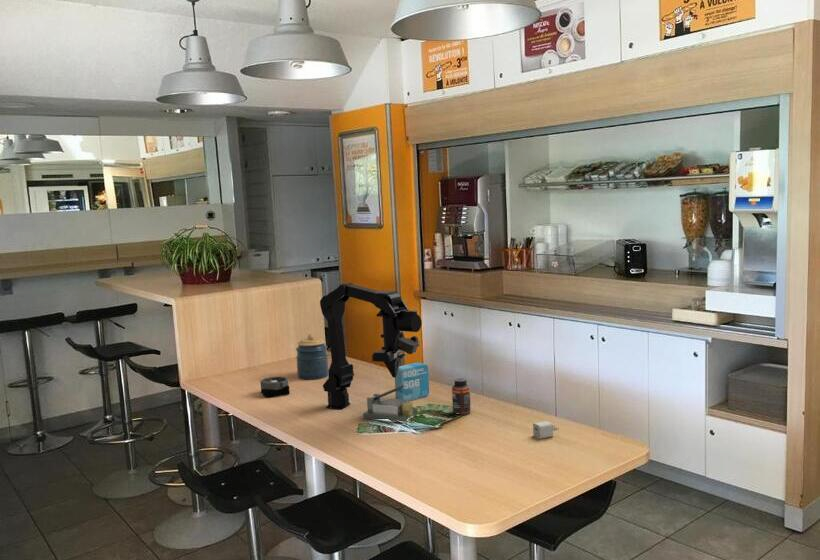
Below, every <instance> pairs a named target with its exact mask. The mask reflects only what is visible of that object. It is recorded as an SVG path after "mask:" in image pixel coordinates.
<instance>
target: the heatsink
mask: <svg viewBox="0 0 820 560" xmlns="http://www.w3.org/2000/svg"><path fill="white" fill-rule="evenodd" d="M378 395H381V393H373V396H378ZM366 405H367V406H366V407H367V410H366V411H364V412H363V414H362V415H363V418H362V419H363V420H367V421H368V420H369V421H373V420H372V419H389V420H399V421H406V420H407V419H408V418H410V417H411V416H413V415H414V414H415V413H417V414H418V408H415V407H414V406H413V405H414V404H413V402H410V401H407V400H402V399H397V398H389V397H381V398H379V399H377V400H376V401H374V398H372V397H370V396H369V397H367V398H366Z"/></svg>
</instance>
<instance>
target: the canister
mask: <svg viewBox="0 0 820 560" xmlns="http://www.w3.org/2000/svg"><path fill="white" fill-rule="evenodd" d="M325 343H326V341H325V340H324V339H322V338H321V337H315V335H314V334H312V333H309V334H308V335H307V338H306V337H305V338H301V339H300V341H298V342H297V347H295V351H296V353H297V354H296V356H295V358H296V366H297V367H296V368H297V371H296V373H297V377H298V378H299V379H301V380H318V379H322V378H326V377H329V368H330V367H329V360H328V358H329V357H328V356H329V354H328V353H327V349H328V345H326V344H325Z"/></svg>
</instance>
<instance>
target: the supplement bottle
mask: <svg viewBox="0 0 820 560" xmlns="http://www.w3.org/2000/svg"><path fill="white" fill-rule="evenodd" d="M467 381H468V380H467V379H466V378H464V377H463V378H462V377H460V378H455V379H454V385H453V386H452V387H451V400H452V412H455V413H459V414H461V415H460V416H465V415H468V414H470V413H471V411H472V409H471V408H472V407H471V388H470V385H468V384H467Z"/></svg>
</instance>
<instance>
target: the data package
mask: <svg viewBox="0 0 820 560" xmlns="http://www.w3.org/2000/svg"><path fill="white" fill-rule="evenodd" d="M429 372H430V371H429V366H428V364H426V363H424V362H422V363H421V362H414V363H409V364H404V365H399V368H398V373H397V377H395V378H394V389H395V388H397V387H399V386H402V385H403V388H402V389H400V390H397V391H395V392H394V395H395V399H402V400H407V402H410V401H414V400H418V399H422V398H426V397H428V396H429V395H430V380H429V379H430V374H429Z"/></svg>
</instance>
